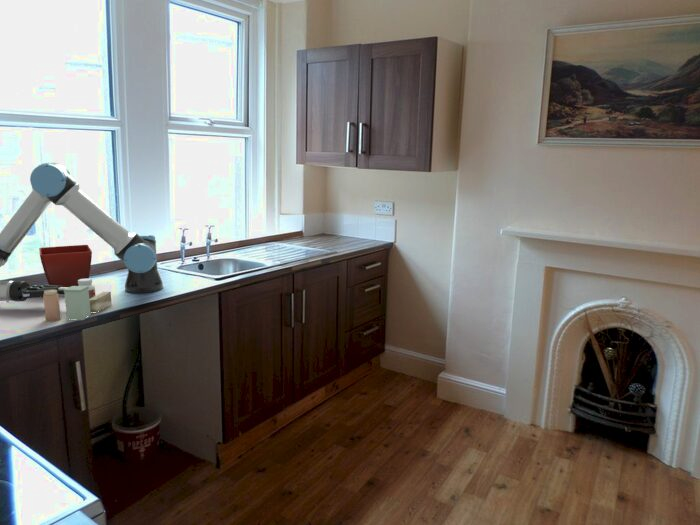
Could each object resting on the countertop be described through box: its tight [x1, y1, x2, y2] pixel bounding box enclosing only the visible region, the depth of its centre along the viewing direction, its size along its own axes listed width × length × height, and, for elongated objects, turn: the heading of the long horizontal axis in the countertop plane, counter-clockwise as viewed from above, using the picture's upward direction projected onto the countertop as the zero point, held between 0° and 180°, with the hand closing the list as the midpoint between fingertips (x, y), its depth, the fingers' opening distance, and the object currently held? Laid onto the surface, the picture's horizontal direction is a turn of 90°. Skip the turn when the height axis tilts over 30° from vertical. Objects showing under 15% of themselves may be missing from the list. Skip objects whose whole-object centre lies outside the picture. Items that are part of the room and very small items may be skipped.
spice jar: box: [42, 290, 62, 322], centre depth 192 cm, size 5×5×10 cm
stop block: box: [89, 291, 112, 313], centre depth 206 cm, size 3×12×5 cm, turn 179°
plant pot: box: [38, 244, 93, 287], centre depth 236 cm, size 19×19×17 cm
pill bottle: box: [78, 277, 96, 299], centre depth 205 cm, size 6×6×11 cm
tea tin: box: [64, 286, 92, 321], centre depth 194 cm, size 6×6×11 cm
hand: (77, 291), depth 205 cm, fingers closed
